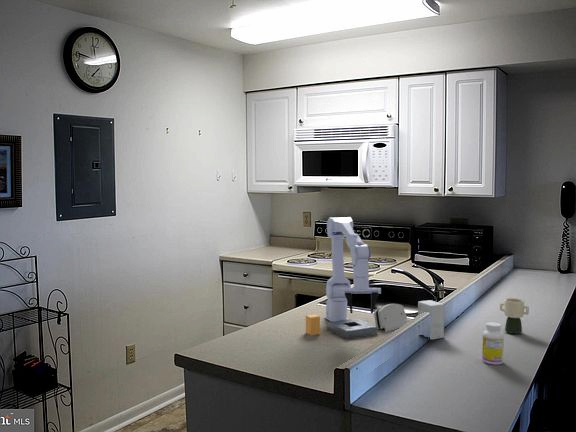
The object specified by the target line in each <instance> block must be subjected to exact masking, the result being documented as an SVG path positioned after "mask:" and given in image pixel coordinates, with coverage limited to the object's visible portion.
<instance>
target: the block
mask: <svg viewBox="0 0 576 432" xmlns="http://www.w3.org/2000/svg"><path fill="white" fill-rule="evenodd" d="M320 323H321V317H320V315H318V314H316V313H314V314H313V313H312V314H306V315H305V334H307V333H308V334H307V335H309V334H310V335H309V336H317V335H320V334H321V331H320V330H321V328H320ZM316 334H317V335H316Z"/></svg>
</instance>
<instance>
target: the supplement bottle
mask: <svg viewBox="0 0 576 432" xmlns="http://www.w3.org/2000/svg"><path fill="white" fill-rule="evenodd" d="M485 327H486V329H485V330H484V331H482V349H481V353H482V355H481V356H482V359H481V360H482V361H483V362H484V363H486V364H489V365H493V366H495V365H502V364H503V363H504V358H505V355H504V352H505V349H504V348H505V333H504V332H503V331H501V329H502V324H501V323H499V322H494V321H493V322H492V321H489V322H486V323H485Z"/></svg>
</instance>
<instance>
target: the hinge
mask: <svg viewBox="0 0 576 432" xmlns="http://www.w3.org/2000/svg"><path fill="white" fill-rule="evenodd" d="M407 317H408V316H407V314H406V311H405V308H404V305H402V304H399V303H389V304H385V305H382V306H380V307H378V308H377V309H375V311H373V318H374V323H375V324H374V325H375V326H377V330H380V329H382V330H383V329H384V331H385V332H386V333H387V332H389V331H392V330H397V329H400V328H402V327H401V326H403V325H404V324H406V323H407V322H409V321H410V322H411V320H410V319H409V318H407ZM399 327H400V328H399Z"/></svg>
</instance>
